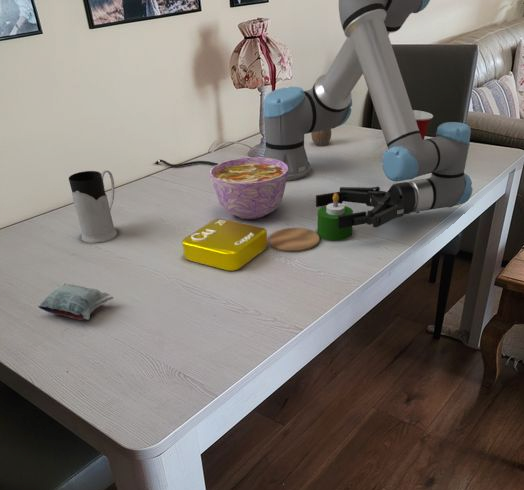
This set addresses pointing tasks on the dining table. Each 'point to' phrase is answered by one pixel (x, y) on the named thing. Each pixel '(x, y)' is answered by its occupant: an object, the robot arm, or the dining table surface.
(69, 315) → the packaged food
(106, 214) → the glass holder
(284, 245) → the cork trivet
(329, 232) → the candle
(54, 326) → the dining table surface
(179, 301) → the dining table surface
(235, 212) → the bowl of food
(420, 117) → the plastic cup
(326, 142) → the vase
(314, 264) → the dining table surface
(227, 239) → the element tile
